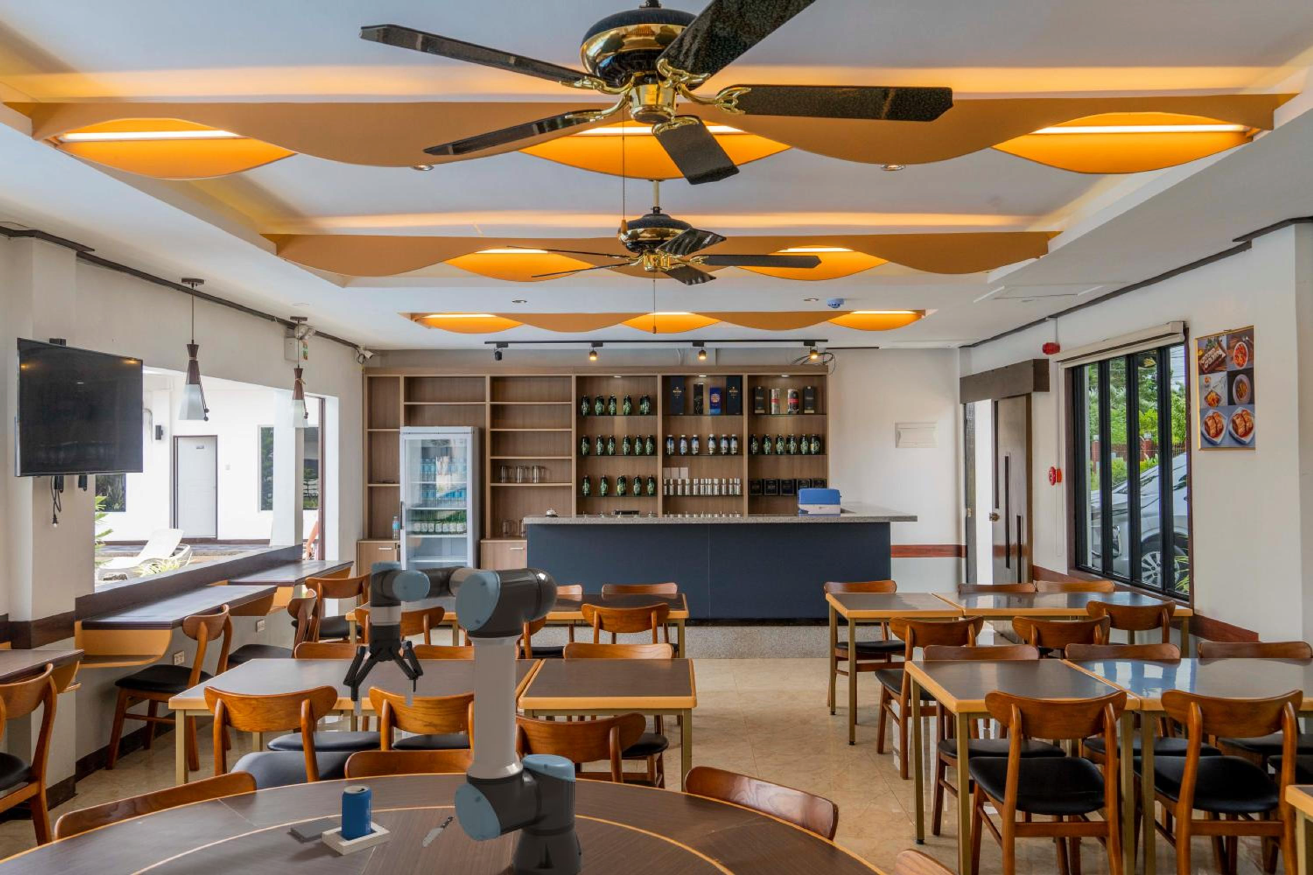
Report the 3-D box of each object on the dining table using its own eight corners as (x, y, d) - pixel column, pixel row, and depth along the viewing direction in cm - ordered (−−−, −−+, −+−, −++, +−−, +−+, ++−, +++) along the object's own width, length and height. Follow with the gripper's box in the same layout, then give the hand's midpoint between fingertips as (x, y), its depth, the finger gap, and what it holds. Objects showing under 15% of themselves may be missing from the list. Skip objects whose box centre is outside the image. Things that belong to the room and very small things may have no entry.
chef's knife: (410, 852, 193) (422, 852, 193) (409, 847, 193) (422, 847, 193) (442, 819, 212) (454, 819, 212) (442, 815, 212) (453, 814, 212)
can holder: (389, 840, 198) (389, 831, 199) (343, 855, 190) (343, 846, 191) (367, 827, 206) (367, 818, 206) (322, 840, 198) (322, 832, 199)
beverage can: (361, 847, 195) (362, 794, 195) (335, 845, 196) (336, 792, 197) (375, 836, 201) (376, 784, 202) (351, 834, 202) (352, 782, 203)
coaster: (343, 831, 204) (343, 826, 204) (306, 842, 198) (306, 837, 198) (327, 821, 210) (327, 816, 210) (290, 831, 204) (290, 827, 204)
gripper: (422, 618, 224) (421, 700, 222) (330, 626, 207) (328, 716, 205) (437, 619, 219) (436, 704, 217) (343, 628, 202) (341, 720, 199)
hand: (383, 710), depth 211 cm, fingers open, 13 cm apart
